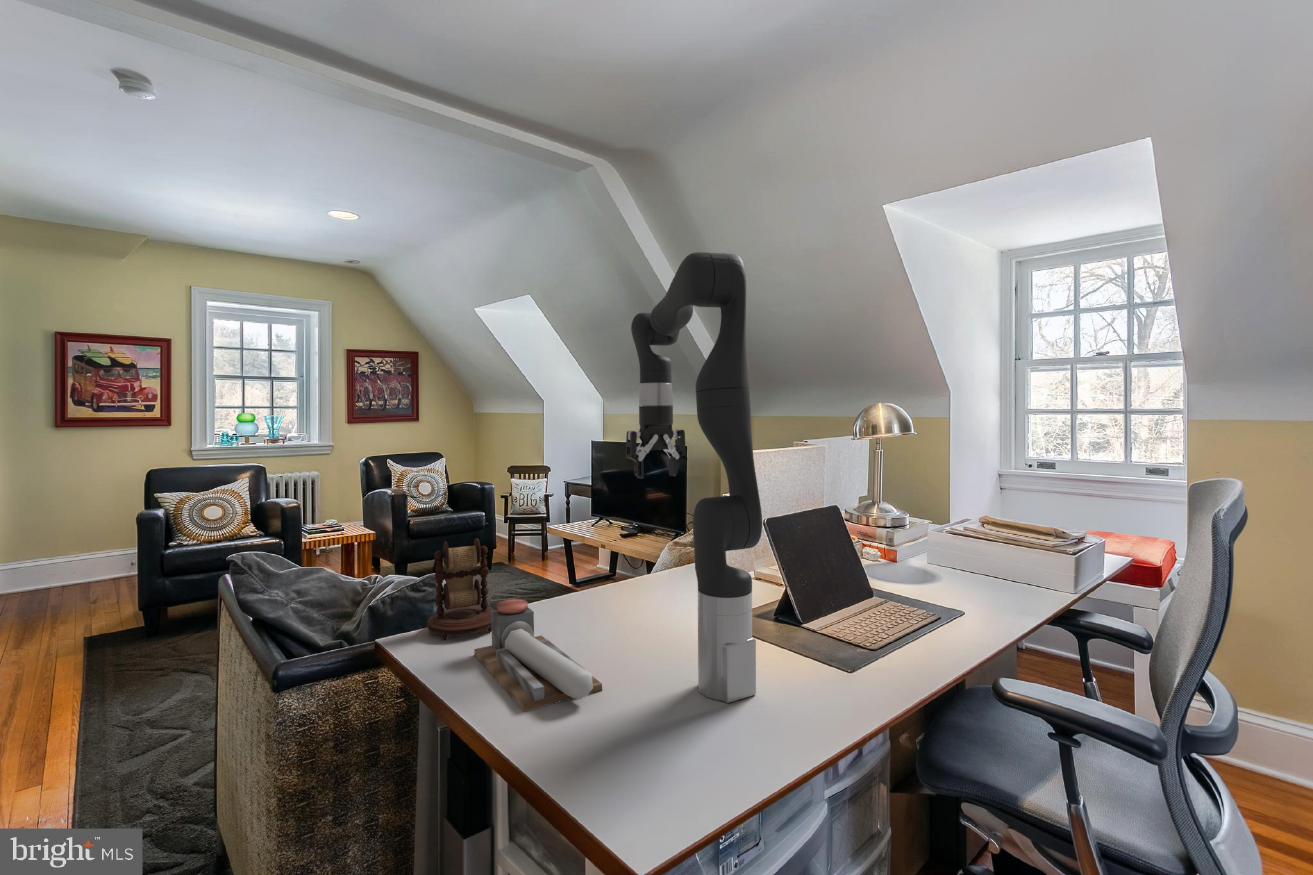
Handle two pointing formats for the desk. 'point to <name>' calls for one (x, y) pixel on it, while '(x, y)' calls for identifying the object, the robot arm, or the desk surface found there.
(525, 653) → the tube
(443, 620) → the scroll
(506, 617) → the pipe rack
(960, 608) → the desk surface
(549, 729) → the desk surface
